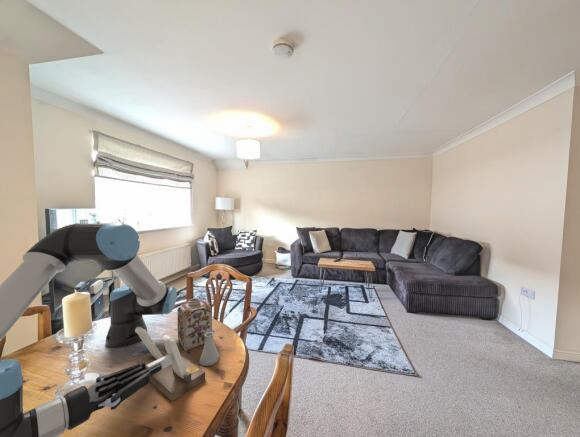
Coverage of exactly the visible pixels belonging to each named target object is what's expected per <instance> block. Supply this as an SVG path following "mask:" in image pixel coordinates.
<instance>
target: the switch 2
mask: <svg viewBox="0 0 580 437" xmlns="http://www.w3.org/2000/svg"><path fill="white" fill-rule="evenodd" d="M161 341H162V342H163V345H164V348H165V350H166V351H167V353H168V354H170V355H172V367H173V369H174V372H175V373H176V374H177V375H178V376H180V377H181V378H182V379H183V378H184V376H185V375H186V374H187V372H186V369H185V366H184V364H183V361H182V358H181V356H182V355H181V353H180V350H179V347H178V344H177V340H176V339H175V338H173V337H172V336H171V335H169V334H165V335H163V336H162V337H161Z"/></svg>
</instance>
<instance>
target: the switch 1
mask: <svg viewBox="0 0 580 437" xmlns="http://www.w3.org/2000/svg"><path fill="white" fill-rule="evenodd" d="M135 332H136V333H137V334H138V335H139V337H140V338H141V340H140V341H142V342H143V344H144V345H145V347H146V348H147V349H148V351H149V353H150V354H151V356H153V357H154V358H155V359H157V360H158V359H160V358H162V357H163V356H162V354H161V353H160V352H161V351H160V349H159V348H158V346H157V345H156V343H155V342H154V340H153V339H152V337H151V336H150V335H149V333H148V330H147V331H146V330H145V329H143V328H142V327H137V328H136V329H135Z"/></svg>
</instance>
